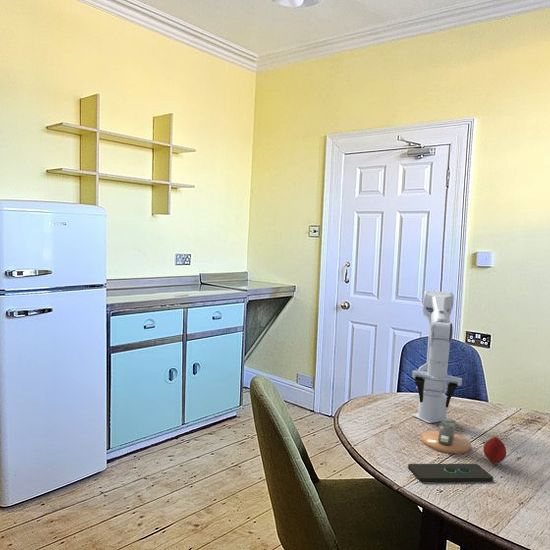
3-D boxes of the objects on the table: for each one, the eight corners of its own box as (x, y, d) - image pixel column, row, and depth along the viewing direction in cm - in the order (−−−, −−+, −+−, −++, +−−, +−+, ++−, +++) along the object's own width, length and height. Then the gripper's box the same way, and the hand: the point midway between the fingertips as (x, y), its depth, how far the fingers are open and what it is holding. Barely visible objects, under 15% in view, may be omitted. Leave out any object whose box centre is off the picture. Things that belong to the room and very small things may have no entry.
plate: (443, 432, 163) (443, 428, 163) (480, 449, 151) (481, 445, 151) (411, 438, 156) (412, 434, 156) (448, 456, 144) (448, 452, 144)
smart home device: (494, 477, 130) (421, 477, 127) (494, 484, 130) (420, 484, 127) (476, 462, 138) (407, 462, 135) (476, 469, 138) (406, 469, 135)
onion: (503, 461, 143) (506, 433, 143) (505, 470, 138) (509, 441, 137) (481, 457, 145) (484, 430, 145) (482, 465, 140) (485, 437, 139)
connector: (441, 433, 159) (442, 417, 158) (454, 435, 157) (456, 420, 157) (436, 447, 147) (437, 430, 147) (450, 450, 146) (452, 433, 145)
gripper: (412, 359, 156) (407, 402, 157) (462, 367, 150) (457, 412, 151) (415, 355, 162) (411, 396, 164) (464, 362, 157) (459, 405, 158)
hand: (434, 404), depth 158 cm, fingers open, 7 cm apart
